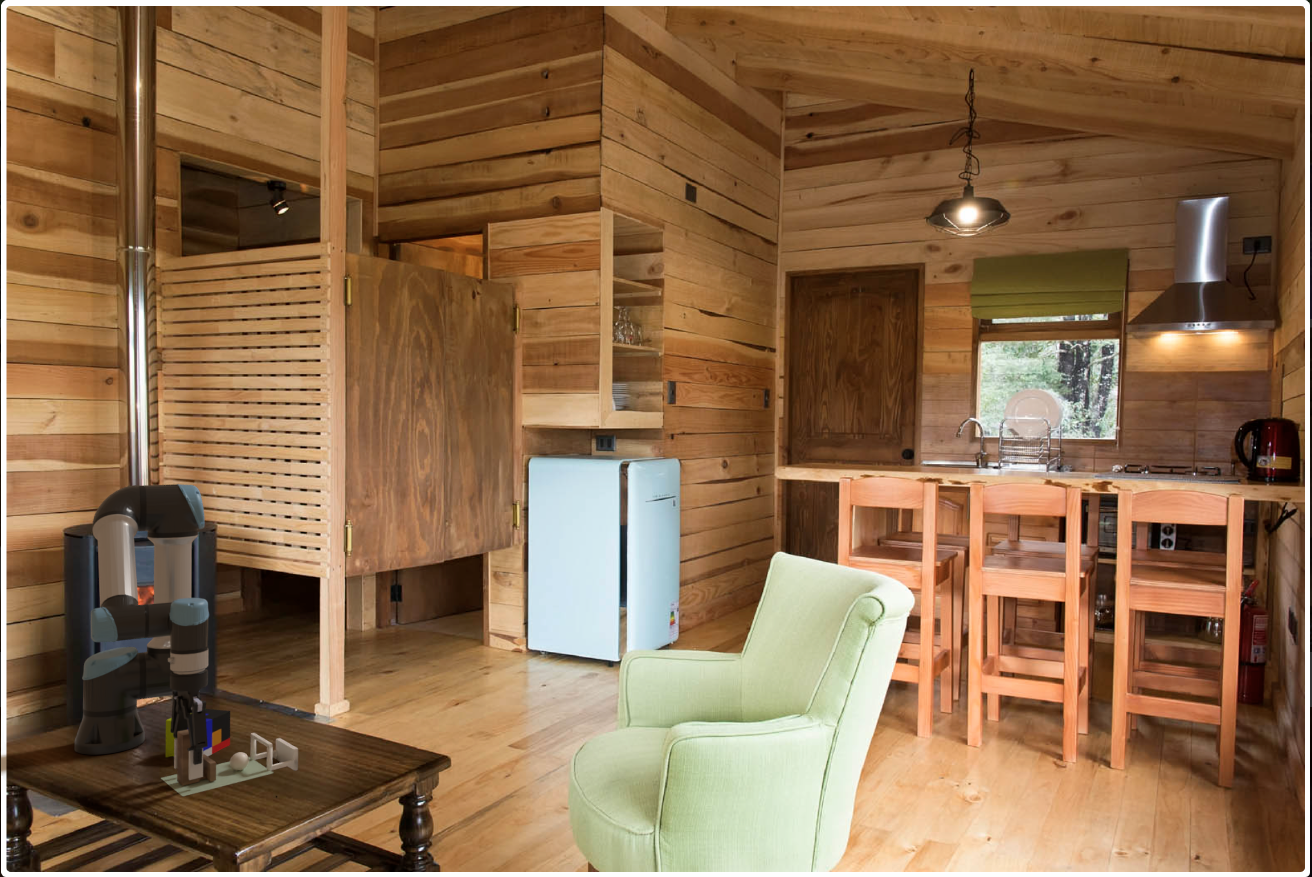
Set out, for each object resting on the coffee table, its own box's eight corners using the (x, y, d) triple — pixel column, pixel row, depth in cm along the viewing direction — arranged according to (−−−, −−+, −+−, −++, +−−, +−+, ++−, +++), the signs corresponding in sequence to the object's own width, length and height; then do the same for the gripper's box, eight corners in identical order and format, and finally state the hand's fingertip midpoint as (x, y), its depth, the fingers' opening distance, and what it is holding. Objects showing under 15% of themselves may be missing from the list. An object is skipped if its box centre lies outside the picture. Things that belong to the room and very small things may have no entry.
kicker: (174, 779, 207) (174, 729, 206) (204, 771, 211) (204, 723, 211) (185, 788, 202) (185, 737, 201) (216, 780, 206) (216, 731, 206)
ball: (226, 770, 213) (227, 752, 213) (244, 765, 216) (244, 748, 216) (233, 774, 210) (233, 757, 210) (251, 770, 213) (251, 753, 213)
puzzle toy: (202, 765, 220) (202, 723, 220) (165, 762, 222) (165, 720, 222) (230, 751, 230) (230, 710, 230) (194, 747, 232) (194, 707, 232)
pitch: (160, 784, 208) (160, 751, 208) (276, 756, 226) (276, 725, 226) (182, 803, 198) (182, 767, 198) (301, 772, 216) (301, 739, 216)
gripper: (154, 663, 210) (154, 763, 210) (188, 682, 195) (187, 790, 195) (190, 658, 215) (189, 755, 215) (225, 676, 200) (224, 781, 201)
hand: (188, 772), depth 205 cm, fingers open, 8 cm apart
